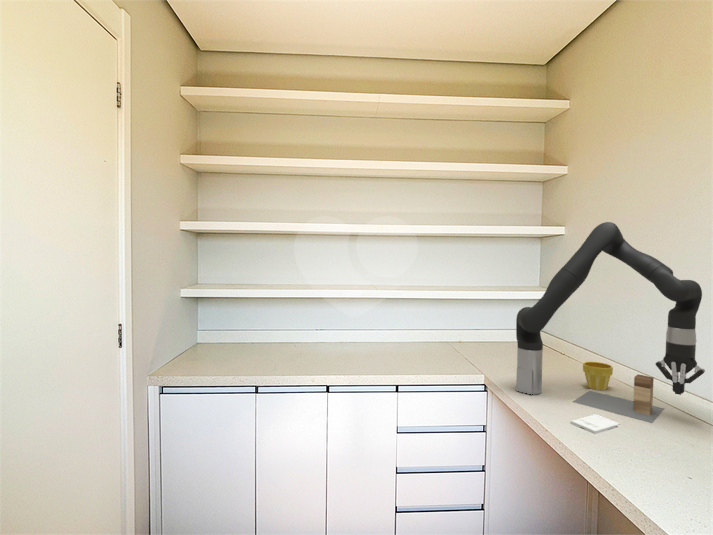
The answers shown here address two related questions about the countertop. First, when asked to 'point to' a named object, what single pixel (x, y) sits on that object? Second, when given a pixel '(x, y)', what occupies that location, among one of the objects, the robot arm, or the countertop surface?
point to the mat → (616, 406)
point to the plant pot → (597, 374)
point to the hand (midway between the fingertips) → (678, 393)
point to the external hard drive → (595, 423)
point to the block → (643, 394)
